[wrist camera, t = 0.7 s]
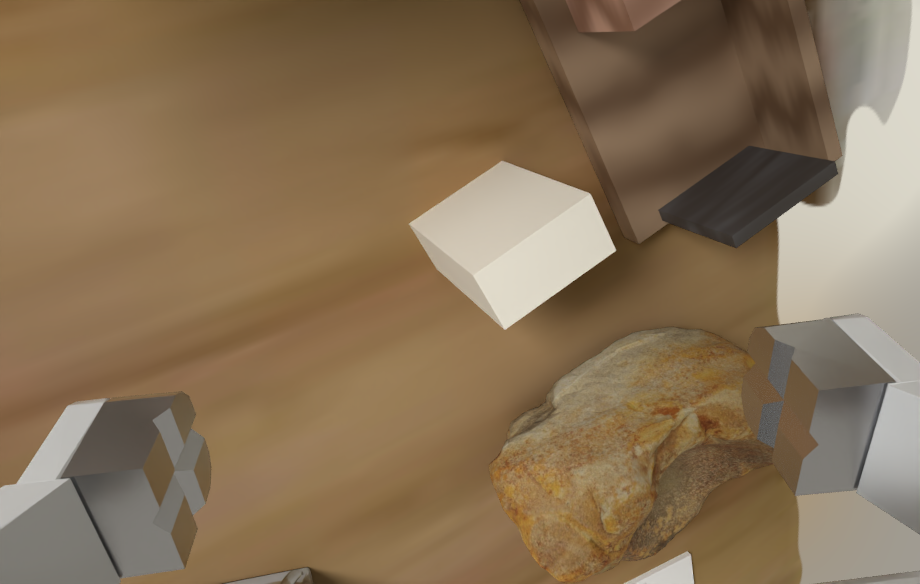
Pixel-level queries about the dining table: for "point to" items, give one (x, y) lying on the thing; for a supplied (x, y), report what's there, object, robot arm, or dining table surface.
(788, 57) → the shelf
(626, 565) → the dining table surface
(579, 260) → the white rectangular block
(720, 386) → the rough brown rock
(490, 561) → the dining table surface
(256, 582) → the coffee box
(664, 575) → the photo frame
